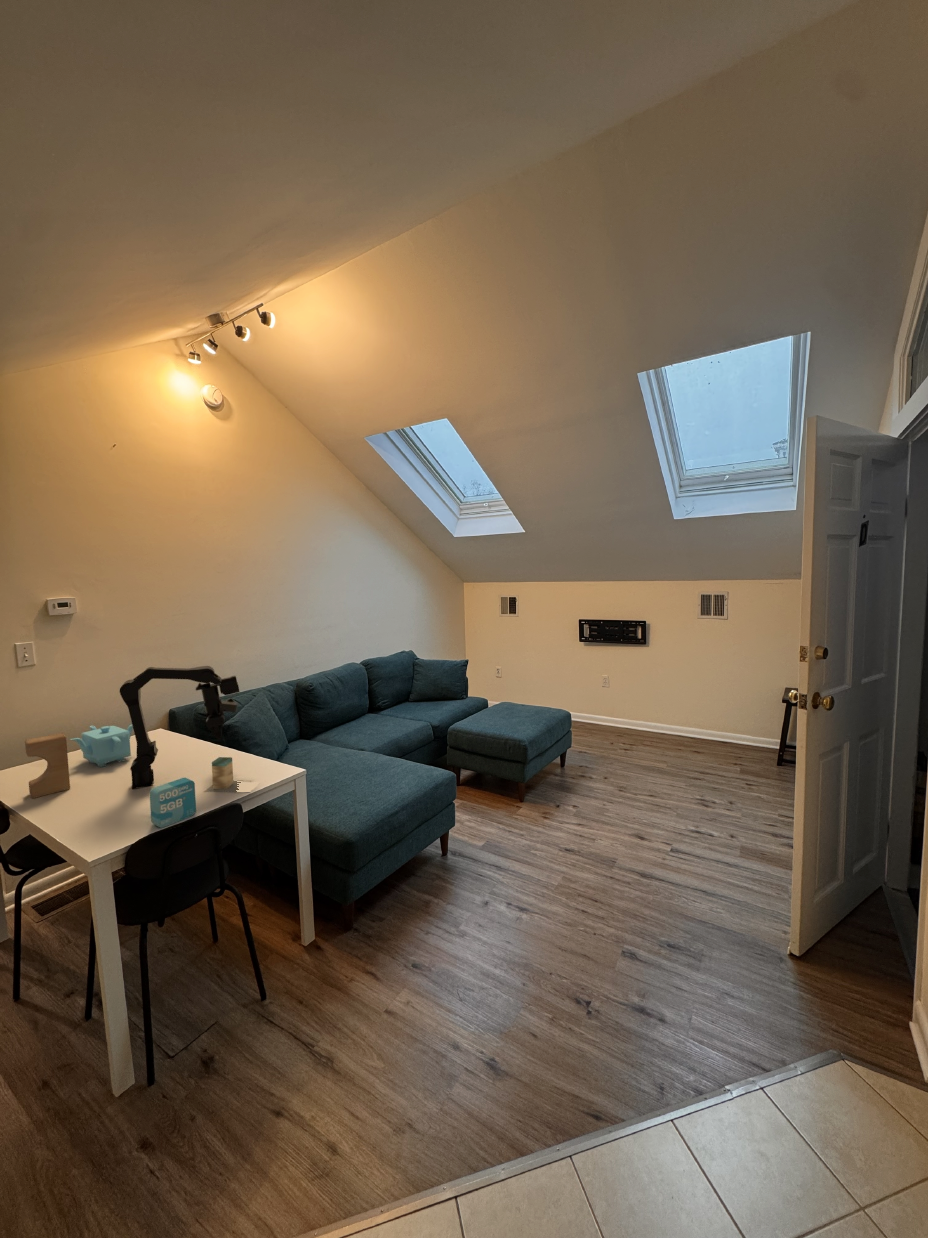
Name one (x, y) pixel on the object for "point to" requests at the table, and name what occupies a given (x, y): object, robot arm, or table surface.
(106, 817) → the table surface
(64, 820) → the table surface
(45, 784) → the decorative block
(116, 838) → the table surface
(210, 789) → the slate mat
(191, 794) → the data package
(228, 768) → the maple block
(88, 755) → the teakettle
